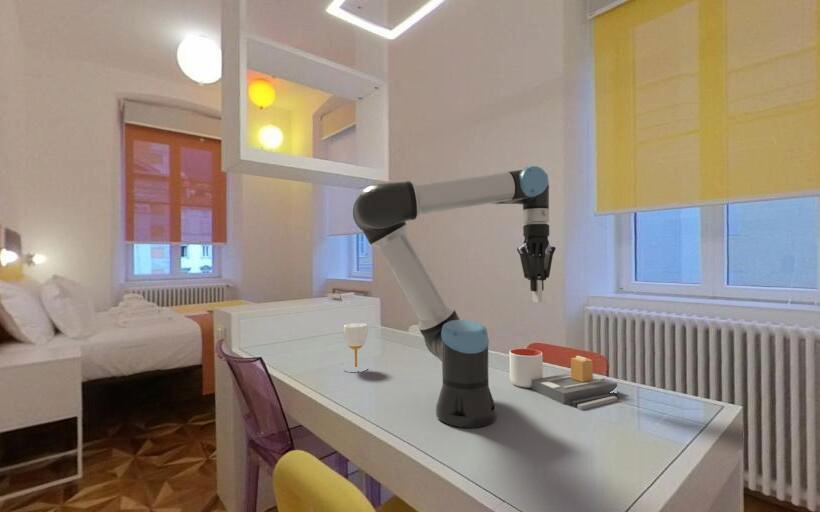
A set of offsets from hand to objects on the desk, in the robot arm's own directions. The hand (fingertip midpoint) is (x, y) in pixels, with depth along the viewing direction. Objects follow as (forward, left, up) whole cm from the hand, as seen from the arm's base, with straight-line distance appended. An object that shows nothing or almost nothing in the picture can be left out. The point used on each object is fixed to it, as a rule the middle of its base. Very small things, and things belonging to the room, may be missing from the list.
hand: (537, 301), depth 120 cm
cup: (0, +6, -27) cm, 27 cm away
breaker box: (+8, -6, -26) cm, 28 cm away
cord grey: (+6, -16, -26) cm, 32 cm away
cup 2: (-45, +45, -27) cm, 69 cm away
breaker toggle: (+11, -6, -23) cm, 26 cm away
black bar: (+7, -15, -26) cm, 31 cm away
